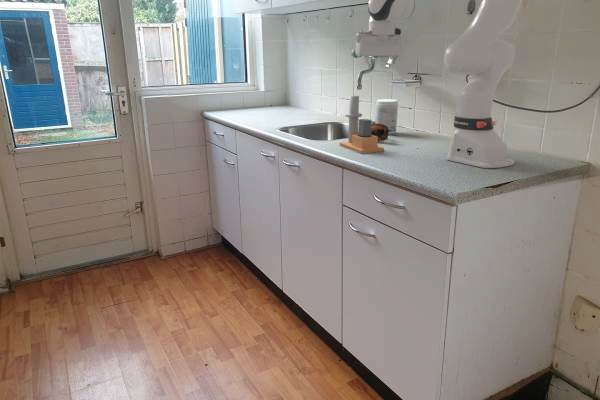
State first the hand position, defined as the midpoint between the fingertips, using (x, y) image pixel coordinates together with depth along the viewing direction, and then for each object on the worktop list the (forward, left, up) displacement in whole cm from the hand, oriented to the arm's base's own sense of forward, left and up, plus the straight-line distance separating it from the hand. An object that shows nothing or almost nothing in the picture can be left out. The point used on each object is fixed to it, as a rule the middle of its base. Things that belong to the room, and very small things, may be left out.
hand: (378, 68), depth 177 cm
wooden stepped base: (-9, +13, -29) cm, 33 cm away
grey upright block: (-12, +13, -28) cm, 33 cm away
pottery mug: (-1, -1, -29) cm, 29 cm away
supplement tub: (+13, -14, -29) cm, 35 cm away
